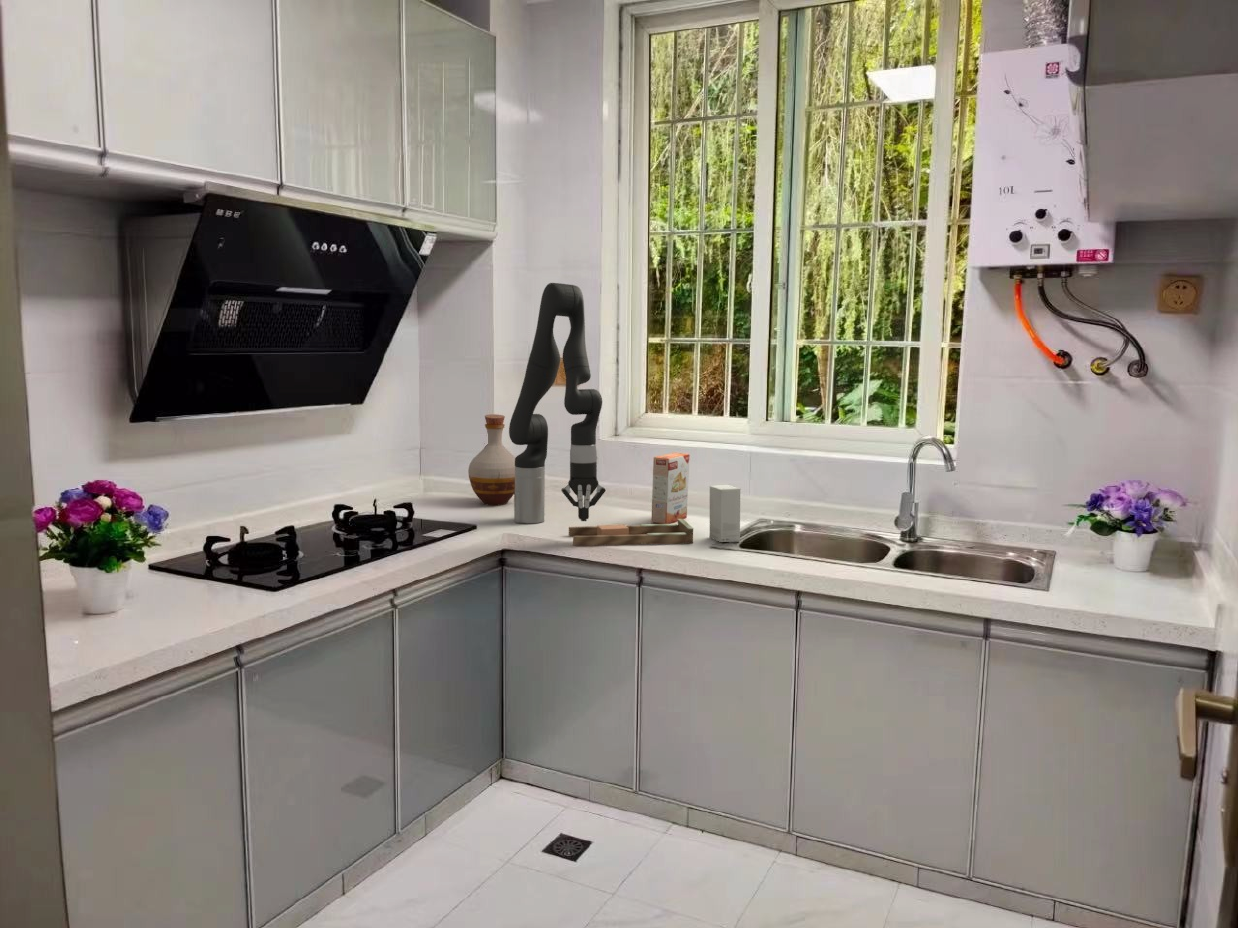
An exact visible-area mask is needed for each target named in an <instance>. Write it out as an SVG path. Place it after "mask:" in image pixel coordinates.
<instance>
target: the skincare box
mask: <svg viewBox="0 0 1238 928" xmlns="http://www.w3.org/2000/svg"><path fill="white" fill-rule="evenodd" d="M709 538H710V539H712V540H714V541H716V542H718V541H719V542H718V543H720V542H729V543H739V542H740V541H741V488H740V487H737V486H736V487H735V486H733V485H731V484H719V485H716V484H715V485H709Z"/></svg>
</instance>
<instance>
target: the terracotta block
mask: <svg viewBox="0 0 1238 928" xmlns="http://www.w3.org/2000/svg"><path fill="white" fill-rule="evenodd" d="M596 526H597V535H629V528H628V527H627V526H628V525H626V524H625V523H624V524H622V523H621V524H602V525H596Z"/></svg>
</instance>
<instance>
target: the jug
mask: <svg viewBox="0 0 1238 928" xmlns="http://www.w3.org/2000/svg"><path fill="white" fill-rule="evenodd" d="M505 417H506V416H505V415H503V414H498V413H495V414H494V413H493V414H486V415H484V418H485V424H484V427H485V429H486V434H488V444H487V445H486V446H485V447H484V446H483V448H482V450H481V451H479V453H477V454H476V455H475V457H473V458H472V460H471V461H470V463H469V466H468V468H467V469H468V471H467V472H468V480H469V483H470V486H471V488H472V490H473V492H474V494H475V495H476V497H477V498H478V499H479V501H481V503H482V504H483V503H484V504H483V505H486V504H488V505H487V506H503V505H507V504H508V503H509V501H510V500H511V499H512V497H514V489H515V458H516V456H514V455H513V454H512V453H511V452H510V451H509V450H508V448H506V447H505V446H504V445H503V441H502V439H503V430H504V428H505V424H504V422H505Z"/></svg>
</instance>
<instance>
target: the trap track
mask: <svg viewBox="0 0 1238 928" xmlns="http://www.w3.org/2000/svg"><path fill="white" fill-rule="evenodd" d="M626 526H627V527H628V528H629V535H597V525H595V526H592V525H591V526H568V537H572V543H573V544H572V545H573V546H574V547H579V546H580V547H581V546H582V547H584V546H627V545H633V546H634V545H667V544H669V545H673V544H674V545H676V544H693V543H694V527H692V525H691V524H689V523H688V522H687V521H686V519H685V518H684V519H678V521H677V523H669V524H658V523H652V524H651V523H650V524H649V523H648V524H645V523H644V524H643V523H641V524H638V525H626Z"/></svg>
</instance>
